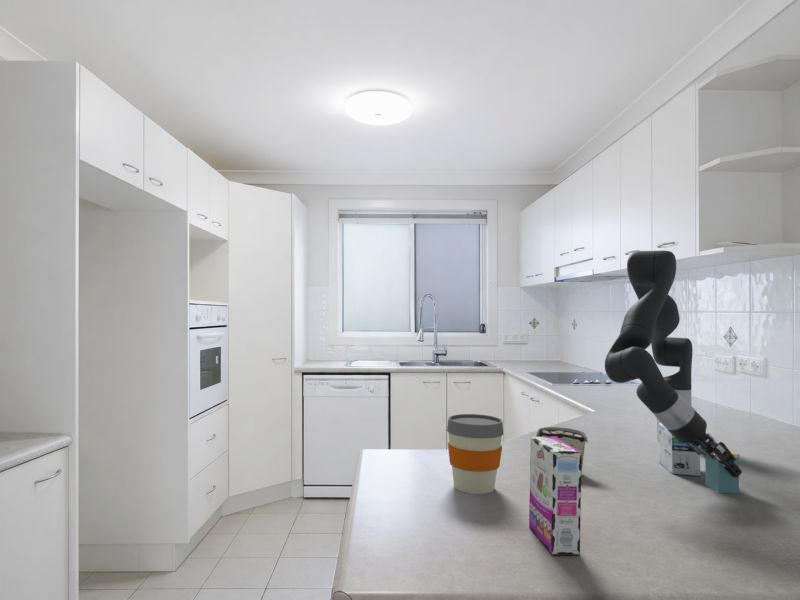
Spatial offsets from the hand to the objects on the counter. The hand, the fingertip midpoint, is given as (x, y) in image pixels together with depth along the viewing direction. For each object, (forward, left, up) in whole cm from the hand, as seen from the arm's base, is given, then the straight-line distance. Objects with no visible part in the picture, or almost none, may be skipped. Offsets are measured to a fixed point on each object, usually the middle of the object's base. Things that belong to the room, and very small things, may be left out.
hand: (729, 470), depth 111 cm
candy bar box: (+27, -50, -4) cm, 57 cm away
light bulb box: (-15, -3, -4) cm, 16 cm away
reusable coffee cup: (+1, -59, -4) cm, 59 cm away
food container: (-13, -34, -4) cm, 37 cm away
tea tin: (0, -2, -4) cm, 5 cm away
